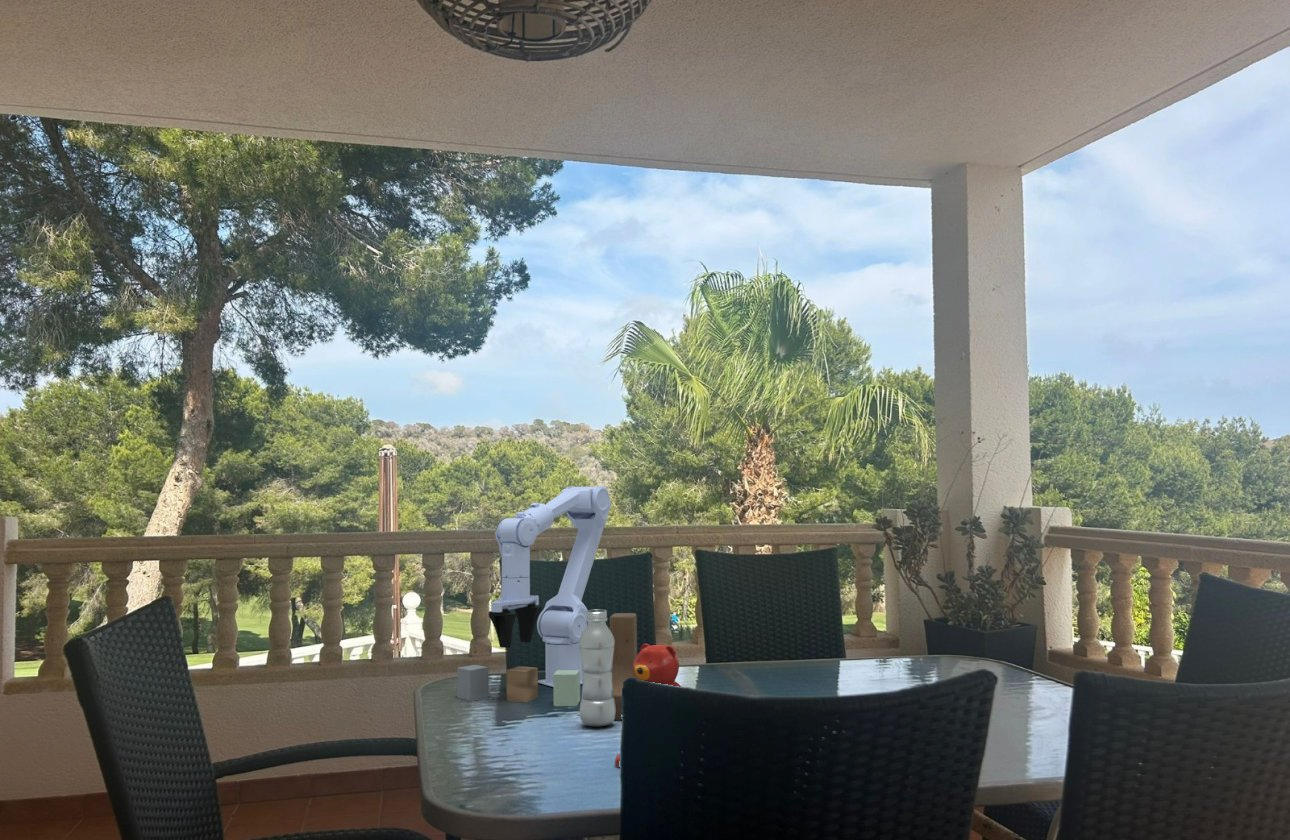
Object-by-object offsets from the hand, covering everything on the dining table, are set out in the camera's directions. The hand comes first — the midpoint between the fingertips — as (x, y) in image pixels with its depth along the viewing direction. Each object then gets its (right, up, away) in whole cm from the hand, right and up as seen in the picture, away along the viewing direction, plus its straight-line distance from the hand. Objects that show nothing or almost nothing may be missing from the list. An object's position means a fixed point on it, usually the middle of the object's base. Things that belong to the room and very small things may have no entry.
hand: (515, 644), depth 189 cm
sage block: (+11, -10, -7) cm, 16 cm away
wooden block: (+22, -9, -17) cm, 30 cm away
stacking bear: (+28, -6, -50) cm, 58 cm away
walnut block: (+2, -10, -3) cm, 11 cm away
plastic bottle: (+18, -8, -25) cm, 32 cm away
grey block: (-9, -11, 0) cm, 14 cm away
